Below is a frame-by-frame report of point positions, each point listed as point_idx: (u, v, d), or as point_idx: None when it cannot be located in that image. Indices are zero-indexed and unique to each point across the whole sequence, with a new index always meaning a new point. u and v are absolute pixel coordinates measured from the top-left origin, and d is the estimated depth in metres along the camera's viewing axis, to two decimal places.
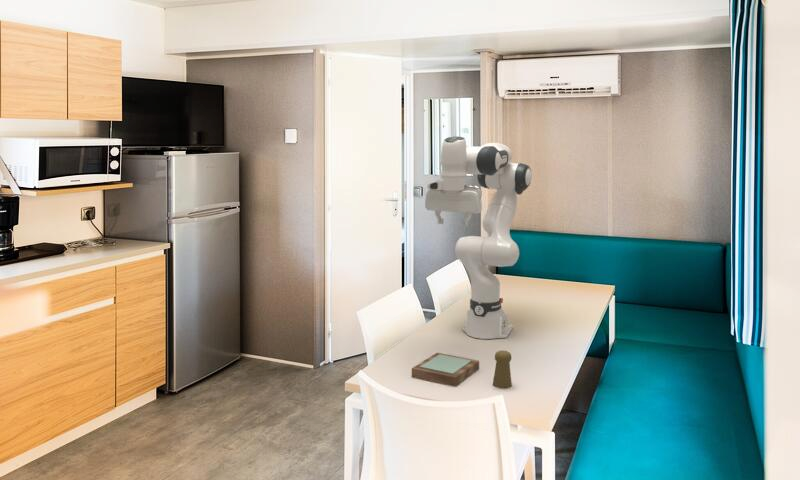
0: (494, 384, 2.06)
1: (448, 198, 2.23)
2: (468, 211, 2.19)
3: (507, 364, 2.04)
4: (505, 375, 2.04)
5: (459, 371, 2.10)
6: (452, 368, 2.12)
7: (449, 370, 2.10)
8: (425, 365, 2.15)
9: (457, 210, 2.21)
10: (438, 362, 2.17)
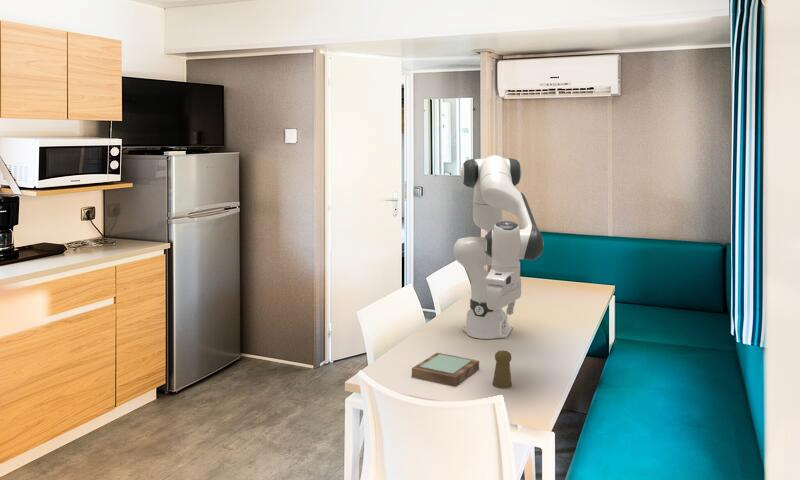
0: (494, 384, 2.06)
1: (508, 290, 2.00)
2: (517, 297, 2.07)
3: (507, 364, 2.04)
4: (505, 375, 2.04)
5: (459, 371, 2.10)
6: (452, 368, 2.12)
7: (449, 370, 2.10)
8: (425, 365, 2.15)
9: (513, 300, 2.04)
10: (438, 362, 2.17)
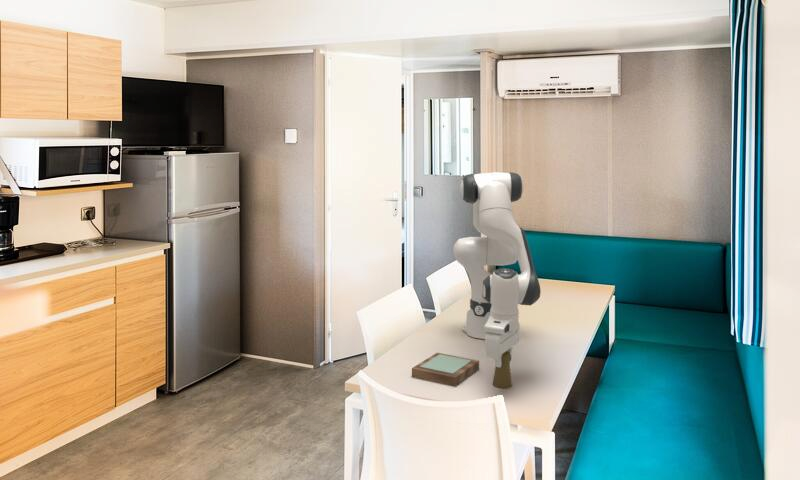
0: (494, 384, 2.06)
1: (507, 336, 2.03)
2: (516, 342, 2.10)
3: (507, 364, 2.04)
4: (505, 375, 2.04)
5: (459, 371, 2.10)
6: (452, 368, 2.12)
7: (449, 370, 2.10)
8: (425, 365, 2.15)
9: (511, 345, 2.06)
10: (438, 362, 2.17)
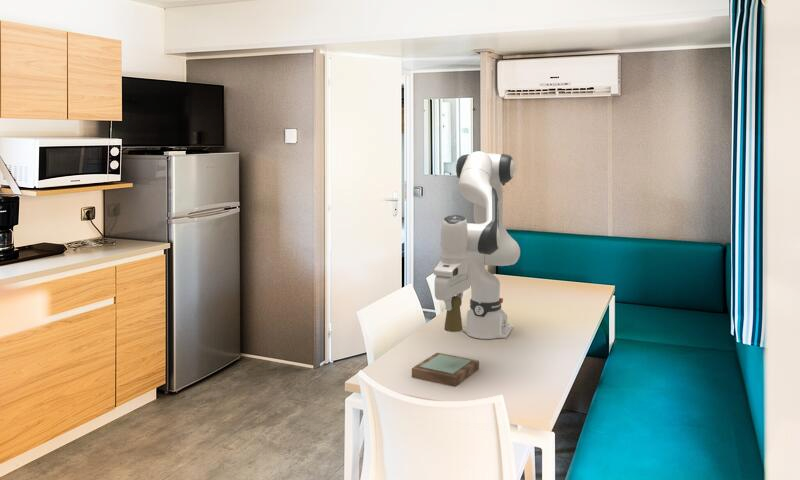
0: (445, 328, 2.12)
1: (456, 281, 2.09)
2: (467, 288, 2.16)
3: (457, 308, 2.11)
4: (455, 319, 2.11)
5: (459, 371, 2.10)
6: (452, 368, 2.12)
7: (449, 370, 2.10)
8: (425, 365, 2.15)
9: (462, 290, 2.13)
10: (438, 362, 2.17)
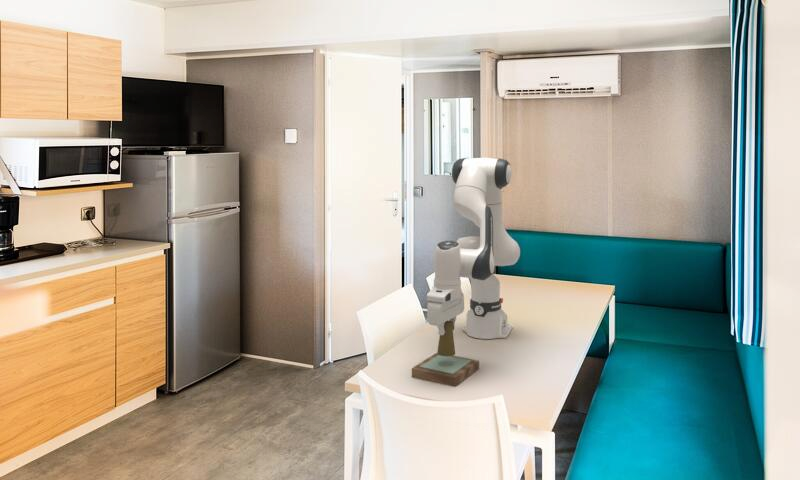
0: (438, 352, 2.15)
1: (449, 306, 2.12)
2: (460, 312, 2.19)
3: (450, 333, 2.13)
4: (448, 344, 2.13)
5: (459, 371, 2.10)
6: (452, 368, 2.12)
7: (449, 370, 2.10)
8: (425, 365, 2.15)
9: (455, 315, 2.15)
10: (438, 362, 2.17)
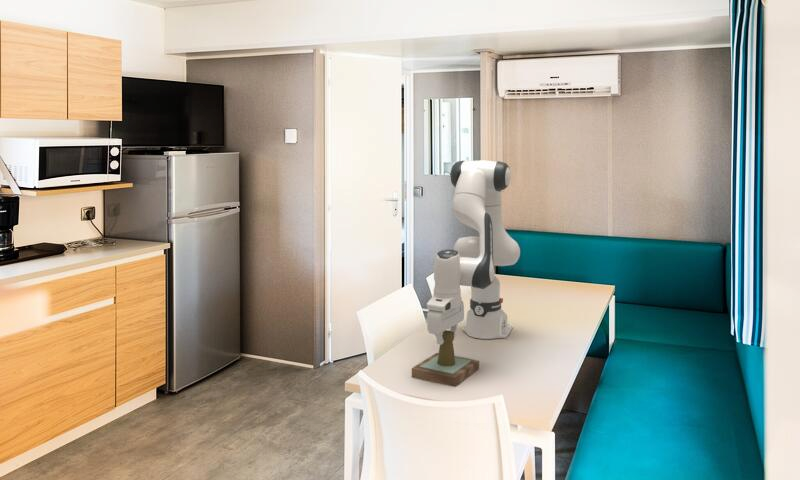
0: (438, 362, 2.16)
1: (449, 314, 2.12)
2: (460, 321, 2.19)
3: (450, 343, 2.14)
4: (448, 354, 2.14)
5: (459, 371, 2.10)
6: (452, 368, 2.12)
7: (449, 370, 2.10)
8: (425, 365, 2.15)
9: (454, 323, 2.16)
10: None
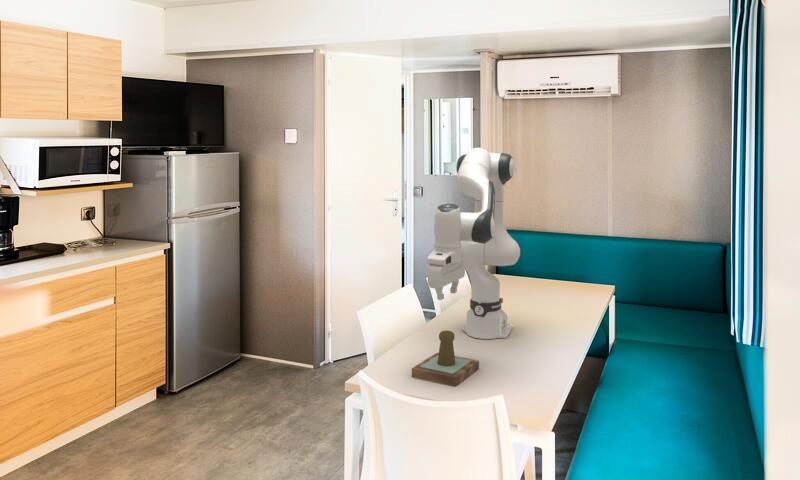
0: (438, 362, 2.16)
1: (450, 269, 2.10)
2: (460, 277, 2.17)
3: (450, 343, 2.14)
4: (448, 354, 2.14)
5: (459, 371, 2.10)
6: (452, 368, 2.12)
7: (449, 370, 2.10)
8: (425, 365, 2.15)
9: (455, 279, 2.13)
10: None
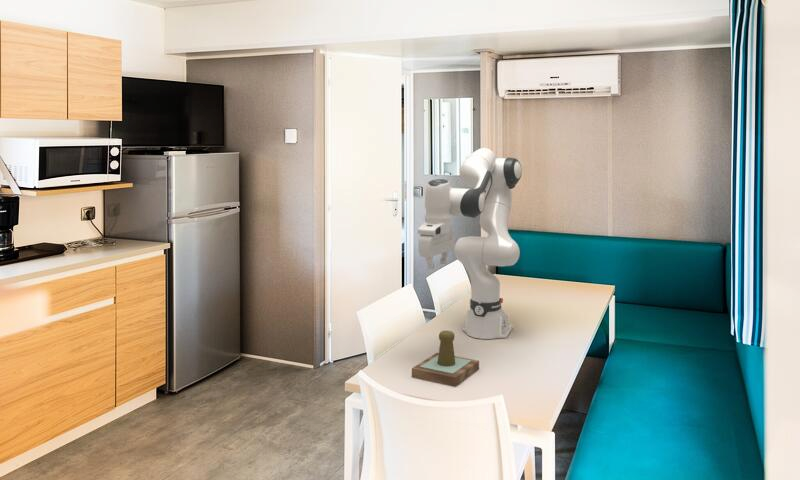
0: (438, 362, 2.16)
1: (439, 240, 2.24)
2: (450, 249, 2.31)
3: (450, 343, 2.14)
4: (448, 354, 2.14)
5: (459, 371, 2.10)
6: (452, 368, 2.12)
7: (449, 370, 2.10)
8: (425, 365, 2.15)
9: (445, 250, 2.27)
10: None
